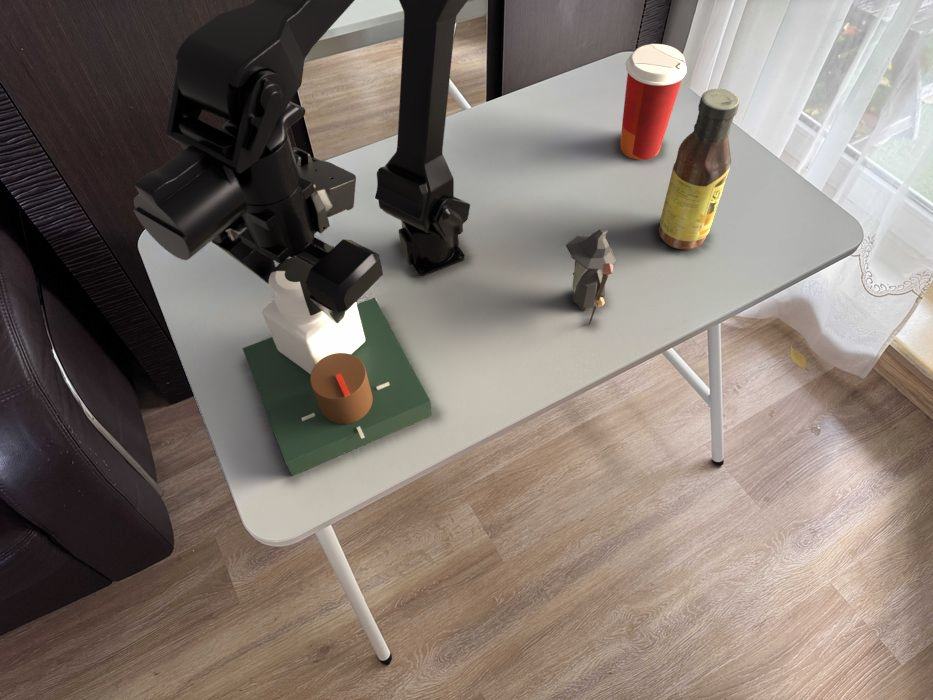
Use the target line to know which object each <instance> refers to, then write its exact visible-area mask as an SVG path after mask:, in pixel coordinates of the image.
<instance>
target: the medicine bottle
mask: <svg viewBox="0 0 933 700" xmlns="http://www.w3.org/2000/svg"><path fill="white" fill-rule="evenodd" d="M312 267H313V266H312V265H311V264H309V263H307V262H305V261H303V260H301V259H300V258H298V257H296V256H294V257H288V258H287V259H286V260H285V261H284V262H283V263H282V264H280V263H278V264H277V265H275V269H274V270H273V271H272V273H271V274H270V277H269V284H268V288H269V290H270V293H271V296H272V298H273V300H272V301H271V302H270V303H268V304H267V305H266V306H264V308H262V309H261V314H262V316H263V319H264V321H265V323H266V326H267V328H268V330H269V333H270V336H271V337H272V338H273V340H274V342H275V345H276V347H277V349H278V351H279V352H281V353H282V354H283V355H285V356H286V357H288V358H289V359H290V360H292V361H293V362H294V363H296V364H297V365H298V366H300V367H301V368H303V369H304V370H305V371H307V372H308V373H309V374H311V372H312V370H313V368H314V366H315V365H316V364H317V363H318V362H319V361H320V360H321V359H323V358H324V357H326V356H328V355H331V354H335V353H347V354H352V353H353V352H354V351H355V350H356V349H358V348H359V347H360V346H361V345H362V344H363V343H364V342H365V336H364V332H363V328H362V324H361V320H360V316H359V312H358V308H357V305H356V304H357V301H356V302H355V303H354V304H353V305H352V306H351V307H350V308H349V309H348V310H347V311H346V312H345V316H344V318H343V319H342V320H341V321H340V322H339V323H338V324H336V323H335V322H333V321H332V320H331V319H330V318H329V317H328V316H327V315H326V314H325V313H324V312H323V311H322V310H321V309H320V308H319V307H318V306H317V305H316V304H315V303H314V302H313V301H312V300H311V299H310V298H309V296H310V295H312V294H311V293H310V292H309V291H308V289H307V286H306V280H307V277H308V274H309V271H310V269H311V268H312Z"/></svg>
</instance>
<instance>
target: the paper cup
mask: <svg viewBox="0 0 933 700" xmlns="http://www.w3.org/2000/svg"><path fill="white" fill-rule="evenodd" d="M624 64H625V69H626V72H627V75H626V83H625V84H626V85H625V93H624V94H625V95H624V103H623V113H622V122H621V123H622V124H621V131H620V150H621V152H622V153H623V155H625V156H627V158H629V159H630V158H631V159H633V160H638V161H639V160H640V161H646V160H650V159H653V158H654V157H656V156H657V155H658V154H659V153H660V150H661V148H662V144H663V140H664V137H665V136H666V135H665V134H666V131H667V128H668V125H669V122H670V118H671V116H672V112H673V110H674V106H675V103H676V100H677V97H678V94H679V90H680V87H681V83H682V80H683V78H684V77H685V76H686V74H687V71H688V70H687V69H688V68H687V65H686V59H685V56H684V55H683V53H682V52H681V51H680V50H679V49H677V48H676V47H673V46H670V45H667V44H663V43H650V44H645V45H642V46H640V47H638V48H636V49H635V50H634V51H633V52H632V53H630V55H629V57H628V58H627V59H626V61H625V63H624Z"/></svg>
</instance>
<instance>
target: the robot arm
mask: <svg viewBox="0 0 933 700" xmlns="http://www.w3.org/2000/svg"><path fill="white" fill-rule="evenodd" d="M355 1H356V0H254V1H252V2H251V3H250V4H246V5H244V6H240V7H238V8H235V9H231V10H228V11H225V12H221V13H219V14H218V15H216V16H214V17H213V18H211V19H210V20H209V21H208V22H206V23H204V24H203V25H202V26H200V27H199V28H197V29H196V30H194V31H193V32H192V33H191V34H189V35H188V36H187V37H186V38H185V39H184V40H183V42H182V43H181V45H180V46H179V48H178V49H177V52H176V55H175V61H176V63H177V64H176V73H175V74H176V75H175V78H174V85H173V89H172V97H171V103H170V110H169V114H168V120H167V127H166V133H165V134H166V136H167V138H169V139H170V140H172V141H175V142H176V143H179V144H180V145H181V148H182V151H181V152H180V153H177V155H175V156H174V157H173V158H172V159H170V160H168V161H167V162H166V163H164V164H163V165H161V167H159V168H157V169H155V170H153V171H151V172H148V173H147V174H145V175H144V176H142V177H141V178H140V179H138V180H137V181H136V182H135V184H134V186H135V189H136V190H137V192H138V194H137V195H136V196H135V197H134V198H133V205H134V209H133V212H134V214H135V216H136V218H137V219H138V221H139V222H140V224H141V225H142V227H143V228H144V229H145V231H146V232H147V233H148V234H149V235H150V236H151V238H153V239H154V240H155V241H156V242H157V244H158V245H159V246H161V247H162V248H163V249H164V250H166V251H167V252H168V253H169V254H170V255H172V256H173V257H175V258H178V259H180V260H182V261H188V260H190V259H191V258H192V257H194V256H195V255H196V254H197V253H199V251H201V250H202V249H203V248H205V247H206V246H207V245H208V244H209V243H212V244H213V245H215V246H217V247H218V248H220V249H221V250H222V251H223V252H225V253H226V254H227V255H229V256H230V257H232V258H233V259H234V260H236V261H237V262H238V263H239V264H241V265H242V266H243V267H245V268H246V269H248V270H249V271H250V272H251V273H253V274H255V275H256V277H258V278H260V279H261V280H262V281H263V282H264V283H266V284H267V285H269V277H270V274H271V273H272V271H273V270H274V269H275V267H276V263H278V264H282V263H283V262H284V261H285V260H286V259H288V258H291V257H294V256H296V257H298V258H300V259H301V260H303V261H305V262H307V263H309V264H311V265H312V266H313V267H312V268H311V269H310V271H309V274H308V277H307V280H306V286H307V289H308V291H309V292H310V293H311V294H312V295H310V296H309V298H310V299H311V300H312V301H313V302H314V303H315V304H316V305H317V306H318V307H319V308H320V309H321V310H322V311H323V312H324V313H325V314H326V315H327V316H328V317H329V318H330V319H331V320H332V321H333V322H335V323H336V324H338V323H339V322H340V321H341V320H342V319H343V318H344V316H345V312H346V311H347V310H348V309H349V308H350V307H351V306H352V305H353V304H354V303H355V302H356V303H357V301H359V299H360V298H362V296H363V295H364V294H365V293H366V292H367V291H369V290H370V288H372V286H373V285H374V284H376V283H377V281H378V280H379V279H381V277H383V275H384V274H383V266H382V260H381V256H380V255H381V254H379V253H377V252H376V251H373V250H371V249H369V248H368V247H365V246H363V245H361V244H359V243H358V242H356V241H354V240H352V239H347V238H342V239H341V240H340V241H339V242H338V243H337V244H336V245H334V246H332V245H331V244H329V243H327V242H325V241H323V240H321V239H320V238H317V237H316V236H315V234H317V233H319V234H322V233H324V232H325V231H326V230H327V229H328V228H329V227H330V226H331V225H330V221H329V218H331V217H333V216H335V215H338V214H339V213H342V212H344V211H350V210H352V209H353V208H354V206H355V196H356V183H357V176H356V174H354V173H353V172H351V171H349V170H346V169H344V168H343V167H340V166H339V165H336V164H334V163H332V162H330V161H326V160H321V159H318V158H316V157H312V156H311V153H309V152H307V151H305V150H304V149H301V148H299V147H297V146H292V143H291V140H290V136H289V132H288V130H289V128H291V127H292V126H293V125H294V124H296V123H297V122H298V121H300V120H301V119H302V118H303V117H304V116H305V115H306V109H305V107H304V106H301V105H299V104H296V103H294V102H292V100H293V98H294V96H296V94H297V92H298V91H299V89H300V88H301V86H302V83H303V76H304V75H303V74H304V67H305V59H306V58H307V56H308V55H309V54H310V52H311V50H312V49H313V47H314V46H315V45H317V43H318V42H319V41H320V40H321V38H322V37H323V36H324V35H325V34H326V33H327V32H328V31H329V30H330V29H331V27H332V26H333V25H335V23H336V22H337V21H338V20H339V18H341V17H342V15H343V14H344V13H345V12H346V11H347V10H348V9H349V8H350V6H352V4H353V3H354V2H355ZM468 1H469V0H398V2H399V4H400V6H401V8H402V11H403V28H402V29H403V30H402V47H401V48H402V49H401V67H400V69H401V70H400V84H399V85H400V86H399V87H400V88H399V105H398V124H397V141H396V142H397V143H396V151H395V153H394V154H393V155H392V157H390V159H389V160H388V161H387V163H386V164H385V165H384V166H381V167H379V168H378V170H377V171H376V181H377V182H376V184H377V185H376V192H375V194H374V199H375V200H377V201H378V207H379V209H380V210H382V211H383V212H384V213H385V214H387V215H388V216H391V217H393V218H395V219H397V220H399V221H400V222H401V228H399V229H398V237H399V244H400V250H401V251H400V252H401V254H402V256H403V257H404V259H405V261H406V262H407V264H408V265H409V266H412V267H413V269H414V271H415V273H416V274H417V276H418V277H424V276H427V275H429V274H433V273H434V272H438V271H441V270H443V269H446V268H448V267H450V266H453V265H457V264H458V263H461V262H463V261H465V259H466V254H464V252H463V250H462V249H461V248H460V240H459V239H460V238H459V236H460V235H461V234H462V233H464V224H465V223H466V222H467V221H468V219H469V215H470V208H471V203H468V202H466V201H464V200H462V199H460V198H458V197H456V196H455V195H454V193H455V191H454V190H455V188H454V186H455V185H454V183H455V181H454V176H453V174H452V172H451V169H450V167H449V165H448V163H447V161H446V158H445V156H444V154H443V149H444V139H445V129H446V128H445V127H446V118H447V110H448V109H447V108H448V97H449V89H450V80H451V69H452V59H453V49H454V39H455V28H456V20H457V16H458V15H459V14H460V12H461V10H462V9H463V8H464V6H465V5H466V4H467V2H468ZM203 111H205V112H206V113H209V114H210V115H213V116H214V117H217V118H219V119H221V120H223V121H224V122H225V123H223V125H222V128H221V129H219V128H217V127H215V126H213V125H211V124H209V123H207V122H205V121H203V120H201V119H199V117H200V116H201V114H202V112H203Z"/></svg>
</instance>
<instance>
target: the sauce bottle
mask: <svg viewBox="0 0 933 700" xmlns="http://www.w3.org/2000/svg"><path fill="white" fill-rule="evenodd" d="M739 105H740V99H739V97H738V95H736V94H735V93H734V92H732V91H730V90H727V89H725V88H712V89H708V90H706V91H704V92H703V93H702V95H701V96H700V99H699V103H698V108H697V109H698V115H697V118H696V122H695V124H694V125H693V131H692V132H691V133H689V135H687V136H686V137H685V138H684V139H683V140H682V141H681V143H680V145H679V147H678V150H677V154H676V159H675V162H674V163H673V168H672V170H671V174H670V179H669V183H668V187H667V191H666V194H665V199H664V203H663V207H662V212H661V215H660V220H659V224H660V225H659V227H658V233H659V237H660V238H661V239H662V241H663V242H664V243H665V244H667V245H668V246H670V247H671V248H674V249H678V250H694V249H696V248H698V247H700V246H701V245H702V244H703V243H704V241H705V240H706V238H707V235H708V234H709V233H710V230H711V227H712V224H713V221H714V217H715V214H716V212H717V209H718V206H719V202H720V200H721V197H722V194H723V191H724V188H725V184H726V181H727V177H728V174H729V171H730V168H731V165H732V157H731V148H730V133H731V132H730V131H731V127H732V124H733V121H734V117H735V116H736V115H737V114H738V109H739Z"/></svg>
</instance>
